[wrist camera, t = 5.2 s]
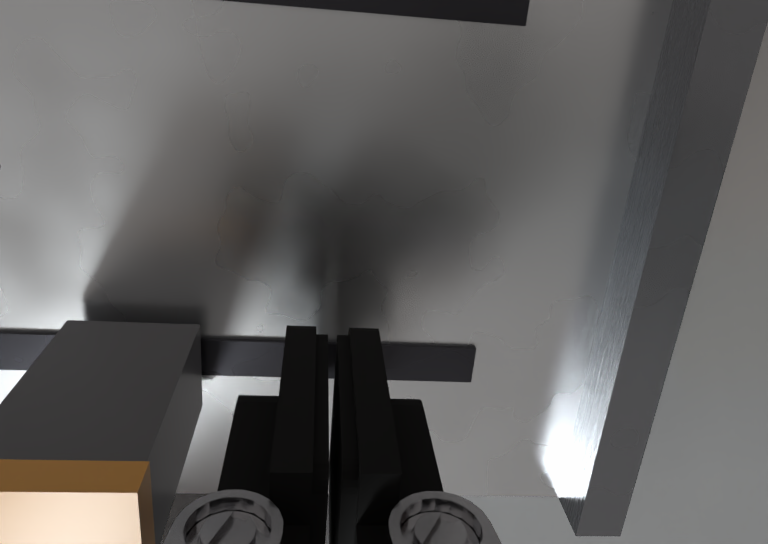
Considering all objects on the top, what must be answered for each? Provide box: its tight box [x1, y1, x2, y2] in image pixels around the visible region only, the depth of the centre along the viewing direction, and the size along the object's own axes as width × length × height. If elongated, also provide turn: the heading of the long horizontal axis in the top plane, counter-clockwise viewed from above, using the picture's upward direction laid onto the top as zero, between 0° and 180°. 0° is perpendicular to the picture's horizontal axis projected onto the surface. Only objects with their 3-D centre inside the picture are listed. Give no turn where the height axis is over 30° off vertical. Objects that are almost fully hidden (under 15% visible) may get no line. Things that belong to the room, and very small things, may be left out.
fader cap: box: [0, 320, 203, 544], centre depth 10 cm, size 2×2×5 cm
